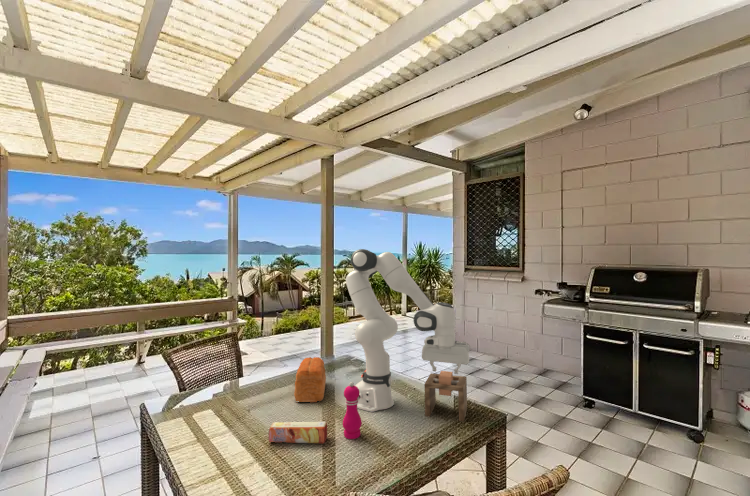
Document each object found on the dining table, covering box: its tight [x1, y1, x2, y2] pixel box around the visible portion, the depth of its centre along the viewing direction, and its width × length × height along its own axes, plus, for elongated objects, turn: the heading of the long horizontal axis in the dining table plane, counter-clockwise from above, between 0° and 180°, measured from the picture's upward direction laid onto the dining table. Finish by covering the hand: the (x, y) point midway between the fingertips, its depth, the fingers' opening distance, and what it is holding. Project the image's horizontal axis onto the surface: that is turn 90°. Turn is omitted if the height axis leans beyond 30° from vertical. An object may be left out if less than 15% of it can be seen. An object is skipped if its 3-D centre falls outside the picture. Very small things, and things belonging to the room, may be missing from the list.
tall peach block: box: [438, 370, 454, 397], centre depth 151 cm, size 5×7×8 cm
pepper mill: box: [342, 381, 363, 440], centre depth 132 cm, size 7×7×20 cm
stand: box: [424, 372, 468, 422], centre depth 151 cm, size 16×14×14 cm
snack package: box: [268, 421, 328, 445], centre depth 129 cm, size 21×7×7 cm, turn 86°
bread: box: [293, 356, 327, 403], centre depth 175 cm, size 14×27×15 cm, turn 5°
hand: (445, 372), depth 151 cm, fingers open, 8 cm apart
